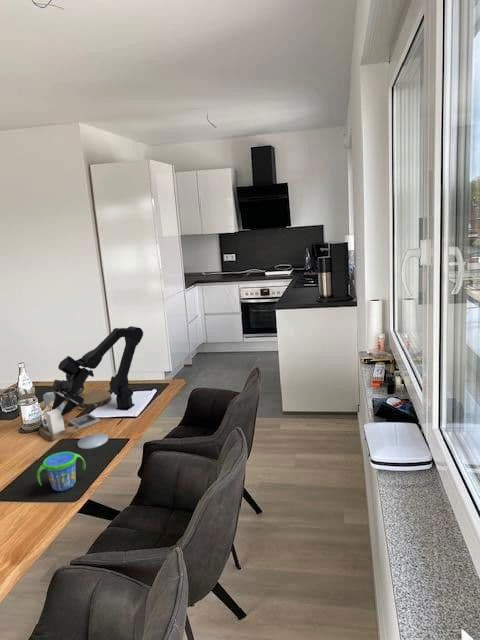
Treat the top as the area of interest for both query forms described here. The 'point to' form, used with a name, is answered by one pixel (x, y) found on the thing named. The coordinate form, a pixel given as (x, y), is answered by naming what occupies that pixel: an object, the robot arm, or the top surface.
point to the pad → (92, 441)
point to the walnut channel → (59, 434)
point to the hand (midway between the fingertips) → (57, 412)
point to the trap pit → (84, 421)
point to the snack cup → (61, 470)
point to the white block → (54, 421)
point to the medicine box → (49, 398)
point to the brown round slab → (95, 399)
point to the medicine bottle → (80, 389)
